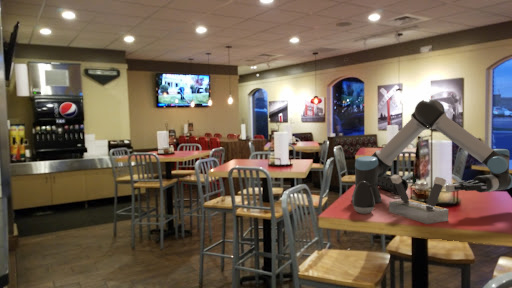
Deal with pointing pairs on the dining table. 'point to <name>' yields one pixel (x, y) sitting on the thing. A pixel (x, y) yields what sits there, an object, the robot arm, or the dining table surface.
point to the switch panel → (418, 211)
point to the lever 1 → (400, 187)
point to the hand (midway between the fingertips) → (447, 188)
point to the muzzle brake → (390, 183)
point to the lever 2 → (435, 192)
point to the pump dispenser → (364, 198)
